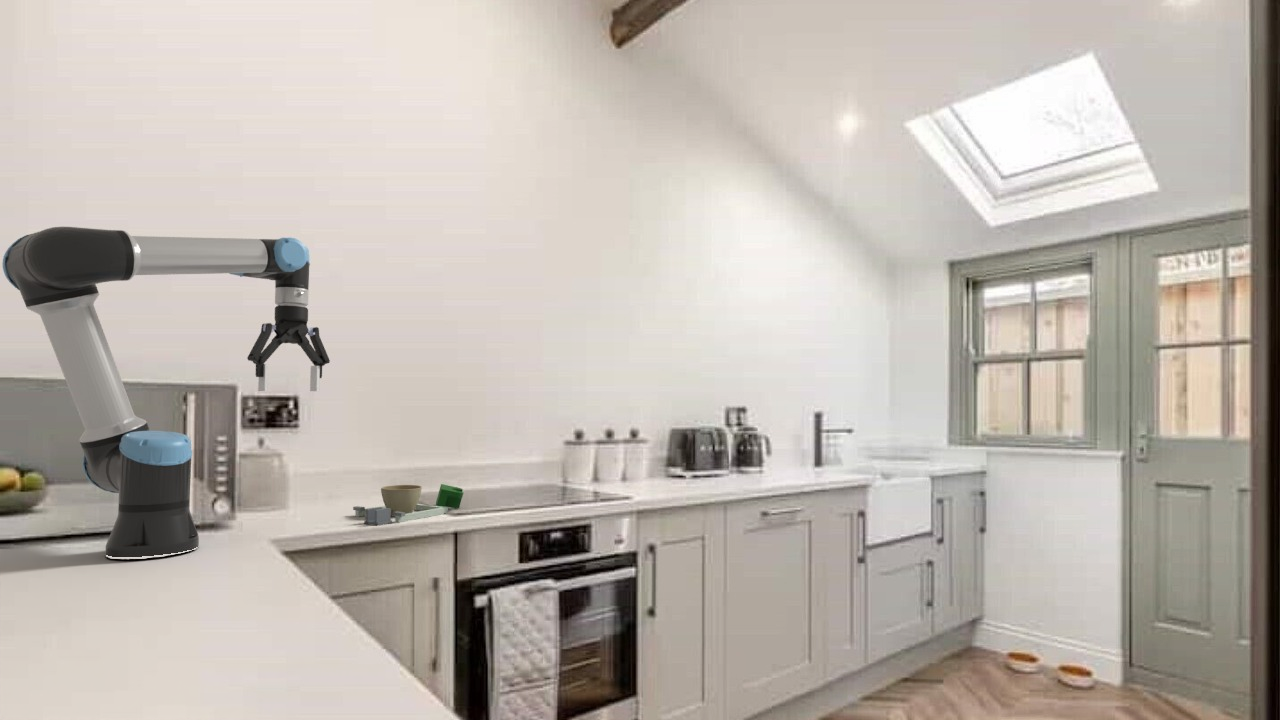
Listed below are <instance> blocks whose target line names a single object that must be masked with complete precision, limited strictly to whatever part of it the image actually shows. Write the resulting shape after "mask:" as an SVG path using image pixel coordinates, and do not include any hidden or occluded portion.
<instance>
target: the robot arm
mask: <svg viewBox="0 0 1280 720" xmlns="http://www.w3.org/2000/svg"><path fill="white" fill-rule="evenodd" d="M310 265H311V263H310V251H309V248H308V247H307V246H306V245H304V244H303V242H302V241H301V240H299V239H297V238H295V237H280V238H275V239H273V238H271V239H270V238H269V239H268V238H260V239H259V238H233V237H232V238H231V237H229V238H227V237H226V238H223V237H194V236H193V237H192V236H191V237H188V236H187V237H186V236H184V237H182V236H145V235H144V236H141V235H130V234H129V233H128V232H127V231H126V230H121V229H120V230H119V229H117V230H116V229H113V230H112V229H103V228H90V227H89V228H88V227H78V226H54V227H49V228H46V229H43V230H40V231H36V232H33V233H30V234H25V235H24V236H22V237H20V238H18V239H17V240H15V241H14V242H13V243H12V244H11V245H10V246H9V247H8V248H7V249H6V251H5V253H4V255H3V258H2V269H3V273H4V276H5V278H6V279H7V281H8V282H9V283H10V284H11V286H13V287H14V288H15V289H16V290H18V291H19V293H20V294H21V298H22V299H23V302H24V304H25V308H26V309H27V310H30V311H31V312H33V313H36V314H38V315H39V316H40V318H41V321H42V324H43V325H44V326H43V327H44V329H45V332H46V333H47V337H48V339H49V341H50V344H51V346H52V348H53V351H54V355H55V357H56V359H57V361H58V364H59V367H60V369H61V371H62V374H63V377H64V380H65V381H66V386H67V387H68V389H69V393H70V395H71V397H72V401H73V403H74V405H75V407H76V410H77V412H78V414H79V418H80V420H81V423H82V425H83V428H84V431H83V432H82V435H81V436H80V438H78V441H79V444H80V445H81V449H82V451H83V457H82V461H81V466H82V467H81V468H82V471H83V475H84V476H85V478H86V479H87V480H88V481H89V482H90V483H91V484H92V485H94V487H97V488H99V489H101V490H103V491H104V492H105V491H106V492H109V493H111V494H112V493H113V494H114V493H115V494H118V505H117V506H118V508H117V509H118V510H117V517H116V519H115V522H114V525H113V527H112V530H111V532H110V535H109V537H108V540H107V541H106V545H105V554H106V555H108V556H112V557H142V556H154V555H163V554H171V553H178V552H183V551H187V550H192V549H194V548H196V547H198V546H199V542H200V540H199V539H200V537H199V534H198V529H197V528H196V525H195V522H194V520H193V516H192V513H191V511H190V510H191V509H190V503H191V502H190V501H191V500H190V499H191V498H190V497H191V496H190V495H191V477H192V456H193V450H192V440H191V439H190V437H189V436H188V435H186V434H184V433H180V432H178V431H177V432H175V431H167V430H166V431H165V430H150V428H149V425H148V422H147V420H145V419H144V418H140V417H138V416H137V415H135V412H134V410H133V407H132V404H131V402H130V399H129V397H128V394H127V391H126V389H125V385H124V383H123V380H122V378H121V375H120V372H119V370H118V367H117V365H116V361H115V359H114V357H113V356H114V355H113V353H112V351H111V348H110V346H109V343H108V340H107V337H106V335H105V332H104V329H103V326H102V324H101V321H100V319H99V316H98V313H97V311H96V308H95V305H94V304H95V302H96V300H97V299H98V298H99V296H100V293H99V289H98V287H97V284H102V283H107V282H120V281H121V282H123V281H130V280H131V279H133V278H134V277H135V276H157V275H159V276H162V275H163V276H164V275H165V276H167V275H206V274H209V275H211V274H212V275H213V274H218V275H219V274H230V275H234V276H237V277H240V278H241V277H242V278H243V277H245V278H253V279H254V278H255V279H261V280H262V279H264V280H270V281H274V285H275V286H274V288H275V291H274V292H275V293H274V304H275V305H276V306H275V307H274V322H275V323H274V324H272V323H271V322H266V323H262V324H261V329H260V333H259V334H258V335H259V336H258V337H257V339H256V341H255V342H254V344H253V347H252V348H251V350H250V352H249V354H248V355H247V358H246V359H247V360H248V361H250V362H252V363H253V364H255V377H256V378H258V385H257V387H258V389H257V390H258V391H257V392H268V390H269V388H268V387H269V364H268V363H266V362H267V361H268V360H269V359H270V357H271V356H272V355H273V353H275V352H276V350H278V349H279V347H280V346H281V345H282V344H293V345H298V347H299V346H300V347H301V349H302V351H303V352H304V354H305V355H306V356H307V357H308V359H309V360H310V361H311V363H312V364H313V365H311V366H310V375H309V376H310V383H309V388H310V389H309V391H310V392H320V379H322V377H323V367H324V366H325V365H326V364H329V363H330V361H331V360H330V358H329V356H328V352H327V351H326V349H325V346H324V344H323V342H322V339H321V337H320V329H319V327H317V326H315V327H308V325H307V324H308V322H309V309H308V307H307V306H309V287H310V286H309V284H310ZM273 332H274V333H275V336H274V337H273V338H272V339H271V342H270V343H269V344H268V345H267V346H266V344H267V343H268V341H269V339H270V337H271V334H272V333H273ZM307 335H308V336H309V339H310V340H309V339H308V338H307ZM310 341H311V342H310ZM310 343H311V344H310ZM199 547H200V546H199ZM199 547H198V548H199ZM105 554H104V555H105Z"/></svg>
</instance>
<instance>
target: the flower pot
mask: <svg viewBox="0 0 1280 720" xmlns="http://www.w3.org/2000/svg"><path fill="white" fill-rule="evenodd" d="M422 488H423V486H421V485H417V484H393V485H384V486H381V487H380V493H381V496H382V497H381V498H382V501H383V503H384V506H386V508H391V517H395V516H394V515H393V512H396V511H398V512H405V514H408V513H414V512H415V510H414V509H415V507H416V505H417V504H419V500H420V497H421V493H422Z"/></svg>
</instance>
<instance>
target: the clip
mask: <svg viewBox="0 0 1280 720" xmlns="http://www.w3.org/2000/svg"><path fill="white" fill-rule="evenodd" d="M375 507H376V508H373V507H368V508H369V509H367V508H365V509H366V515H365V520H363V521H364V522H363V523H364V525H371V524H372V526H377V525H379V526H384V525H389V524H392V523H393V520H392V519H391V517H392V516H391V508H385V509H382V507H379V506H375ZM388 523H389V524H388ZM383 524H384V525H383Z"/></svg>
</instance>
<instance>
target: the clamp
mask: <svg viewBox="0 0 1280 720" xmlns="http://www.w3.org/2000/svg"><path fill="white" fill-rule="evenodd" d="M463 490H464V489H463V488H461V487H457V486H453V485H448V484H443V483H441V484H440V486H439V491H438V494H437V498H436V501H435V506H441V507H448V508H452V509H456V508H459V509H460V505H461V502H462V500H463V497H464V491H463Z"/></svg>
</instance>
